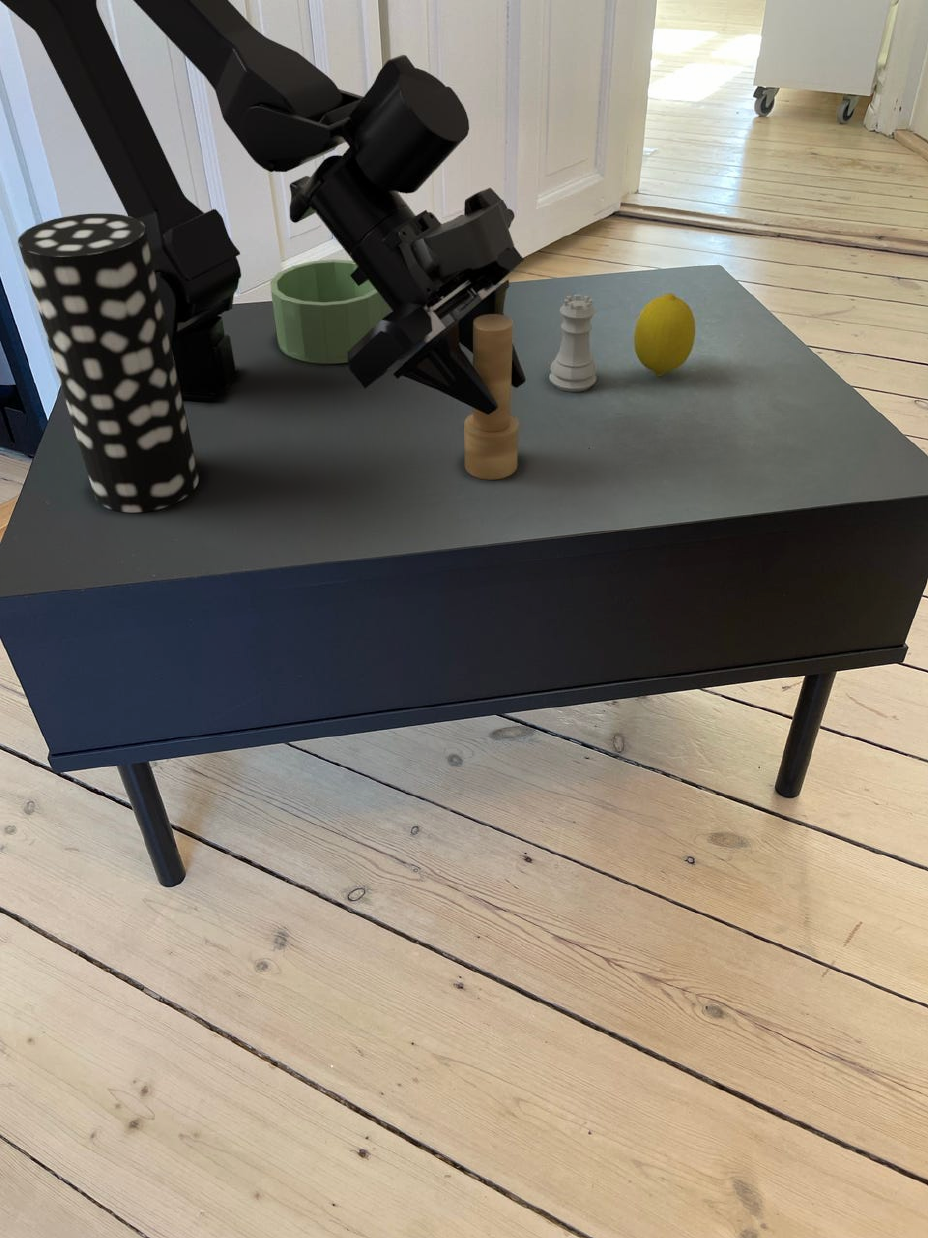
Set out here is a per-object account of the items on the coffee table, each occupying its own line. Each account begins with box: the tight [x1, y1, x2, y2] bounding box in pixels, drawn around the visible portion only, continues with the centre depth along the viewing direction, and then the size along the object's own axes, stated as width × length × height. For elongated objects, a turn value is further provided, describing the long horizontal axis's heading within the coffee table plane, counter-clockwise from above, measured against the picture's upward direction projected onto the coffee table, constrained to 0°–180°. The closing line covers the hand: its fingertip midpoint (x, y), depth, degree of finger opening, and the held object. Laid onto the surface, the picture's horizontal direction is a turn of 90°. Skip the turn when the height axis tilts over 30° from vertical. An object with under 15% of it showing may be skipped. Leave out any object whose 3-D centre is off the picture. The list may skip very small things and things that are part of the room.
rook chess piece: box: [548, 294, 597, 393], centre depth 89 cm, size 4×4×8 cm
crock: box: [269, 259, 391, 365], centre depth 97 cm, size 11×11×6 cm
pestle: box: [463, 314, 520, 481], centre depth 77 cm, size 4×4×12 cm
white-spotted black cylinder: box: [17, 212, 200, 513], centre depth 72 cm, size 8×8×20 cm
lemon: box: [633, 292, 696, 377], centre depth 90 cm, size 6×6×8 cm
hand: (507, 397), depth 76 cm, fingers open, 5 cm apart
